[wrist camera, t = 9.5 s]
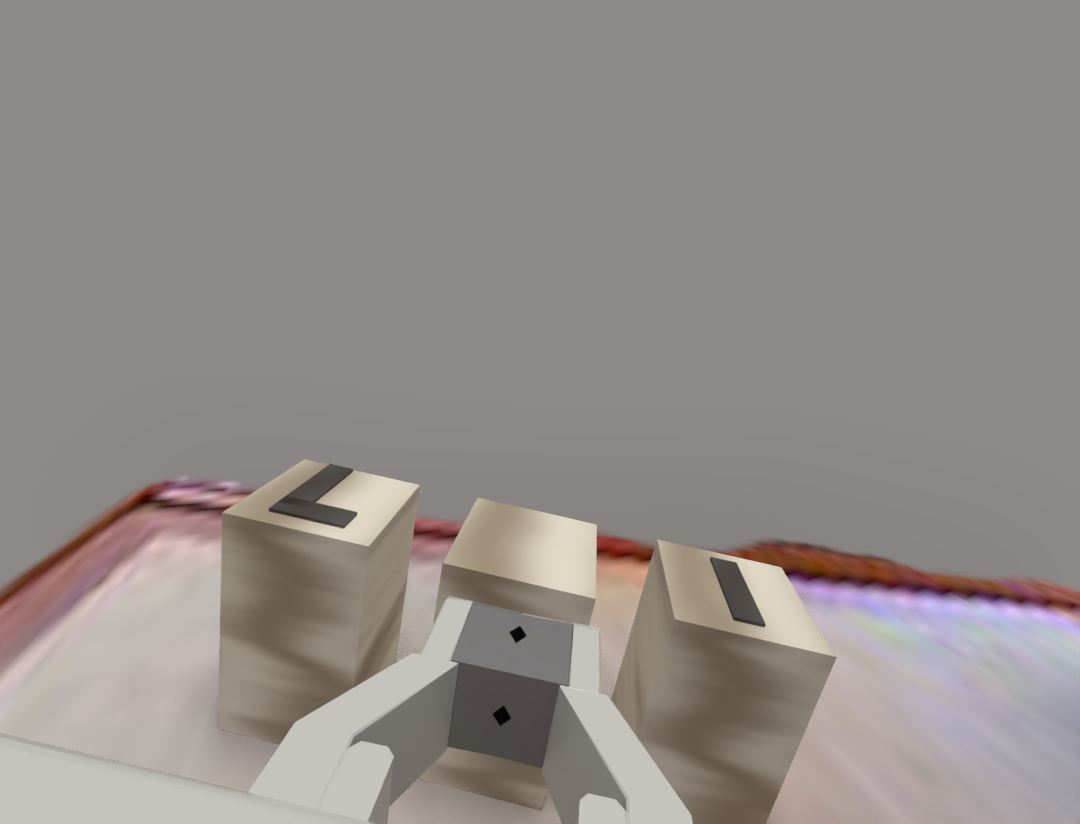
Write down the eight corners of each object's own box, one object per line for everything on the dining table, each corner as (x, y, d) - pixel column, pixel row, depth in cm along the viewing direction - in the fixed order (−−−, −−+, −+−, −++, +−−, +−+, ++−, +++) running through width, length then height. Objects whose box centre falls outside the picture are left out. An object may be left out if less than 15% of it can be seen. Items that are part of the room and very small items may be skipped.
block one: (715, 741, 28) (781, 563, 25) (747, 866, 22) (837, 653, 19) (606, 714, 28) (657, 535, 25) (608, 831, 22) (675, 615, 19)
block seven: (396, 661, 29) (421, 481, 26) (345, 761, 23) (368, 543, 20) (294, 636, 29) (306, 455, 26) (218, 728, 23) (222, 509, 20)
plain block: (553, 701, 28) (596, 524, 25) (541, 810, 23) (595, 598, 20) (447, 675, 29) (477, 497, 26) (409, 776, 23) (442, 562, 20)
